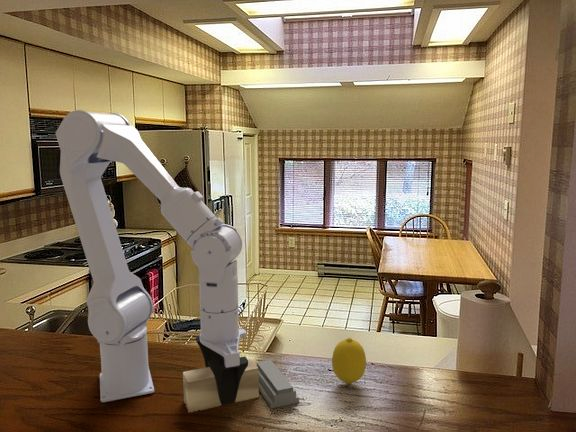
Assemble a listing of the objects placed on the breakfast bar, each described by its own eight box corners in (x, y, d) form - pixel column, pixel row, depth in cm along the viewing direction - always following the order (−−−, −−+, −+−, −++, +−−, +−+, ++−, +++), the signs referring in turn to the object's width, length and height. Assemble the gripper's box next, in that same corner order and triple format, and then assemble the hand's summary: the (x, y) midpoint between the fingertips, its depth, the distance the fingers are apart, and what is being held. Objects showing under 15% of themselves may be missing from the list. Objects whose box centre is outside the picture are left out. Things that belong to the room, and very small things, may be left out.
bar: (184, 402, 74) (182, 371, 74) (251, 387, 79) (251, 358, 78) (188, 413, 71) (187, 382, 70) (258, 398, 75) (258, 368, 75)
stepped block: (251, 378, 81) (251, 363, 81) (276, 373, 83) (276, 358, 83) (271, 408, 72) (271, 391, 72) (299, 402, 74) (299, 386, 73)
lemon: (324, 382, 80) (325, 336, 79) (349, 372, 83) (349, 328, 82) (348, 396, 75) (348, 348, 74) (372, 385, 79) (373, 339, 77)
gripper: (259, 319, 67) (260, 408, 69) (232, 289, 81) (233, 365, 83) (210, 326, 65) (212, 419, 67) (189, 294, 78) (192, 373, 80)
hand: (221, 390), depth 75 cm, fingers open, 7 cm apart
